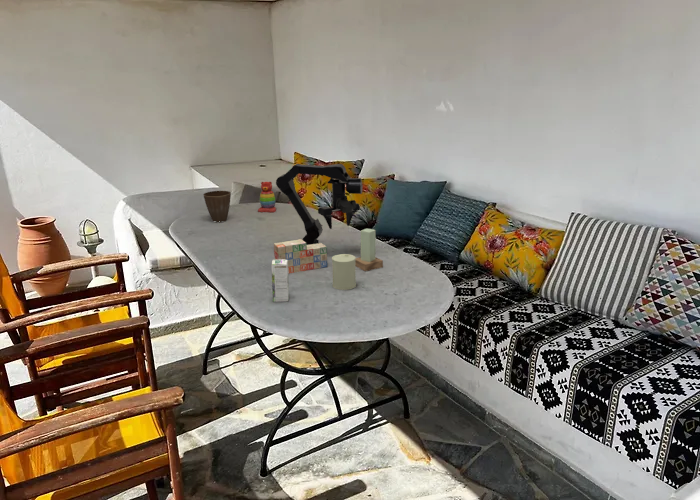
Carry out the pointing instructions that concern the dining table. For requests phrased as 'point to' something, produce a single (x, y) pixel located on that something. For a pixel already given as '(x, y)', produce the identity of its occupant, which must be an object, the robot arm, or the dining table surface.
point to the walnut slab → (368, 264)
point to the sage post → (368, 245)
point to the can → (344, 271)
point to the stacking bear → (267, 198)
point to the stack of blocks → (301, 255)
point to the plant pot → (218, 204)
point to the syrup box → (280, 280)
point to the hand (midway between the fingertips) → (339, 227)
